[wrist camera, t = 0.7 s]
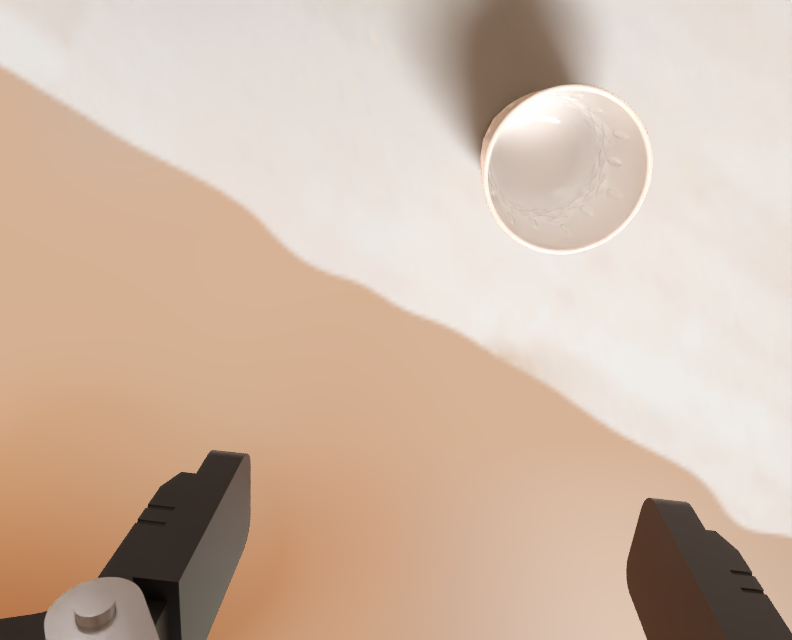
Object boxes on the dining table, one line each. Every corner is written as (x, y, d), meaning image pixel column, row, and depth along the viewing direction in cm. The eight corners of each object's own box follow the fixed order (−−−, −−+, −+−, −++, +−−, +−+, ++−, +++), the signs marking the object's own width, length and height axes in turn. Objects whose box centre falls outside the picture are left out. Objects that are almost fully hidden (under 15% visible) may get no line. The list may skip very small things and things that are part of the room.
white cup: (473, 85, 38) (485, 85, 28) (606, 83, 37) (663, 82, 28) (470, 215, 40) (480, 254, 31) (594, 214, 40) (642, 254, 31)
